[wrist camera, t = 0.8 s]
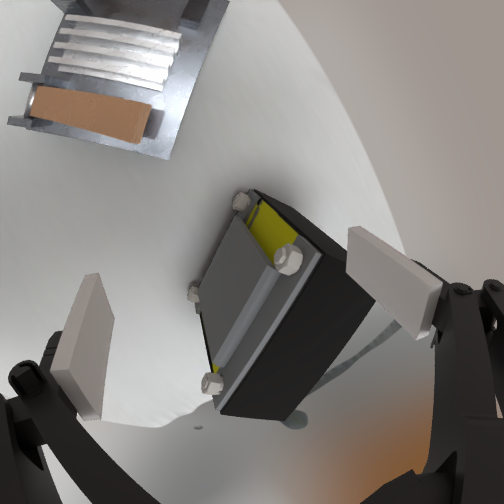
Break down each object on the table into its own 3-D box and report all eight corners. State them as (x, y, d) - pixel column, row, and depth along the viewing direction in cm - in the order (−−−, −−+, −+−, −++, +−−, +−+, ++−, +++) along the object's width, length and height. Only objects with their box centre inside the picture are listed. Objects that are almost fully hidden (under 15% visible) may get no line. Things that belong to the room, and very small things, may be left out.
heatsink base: (35, 127, 29) (1, 132, 21) (91, -18, 22) (73, -48, 14) (168, 157, 35) (167, 168, 27) (225, 9, 29) (241, -19, 21)
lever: (38, 116, 23) (29, 115, 22) (46, 87, 22) (37, 85, 21) (139, 143, 21) (130, 142, 20) (152, 105, 20) (143, 102, 19)
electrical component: (239, 181, 38) (301, 242, 21) (304, 213, 42) (393, 285, 25) (183, 296, 43) (198, 411, 25) (245, 316, 47) (289, 421, 29)
